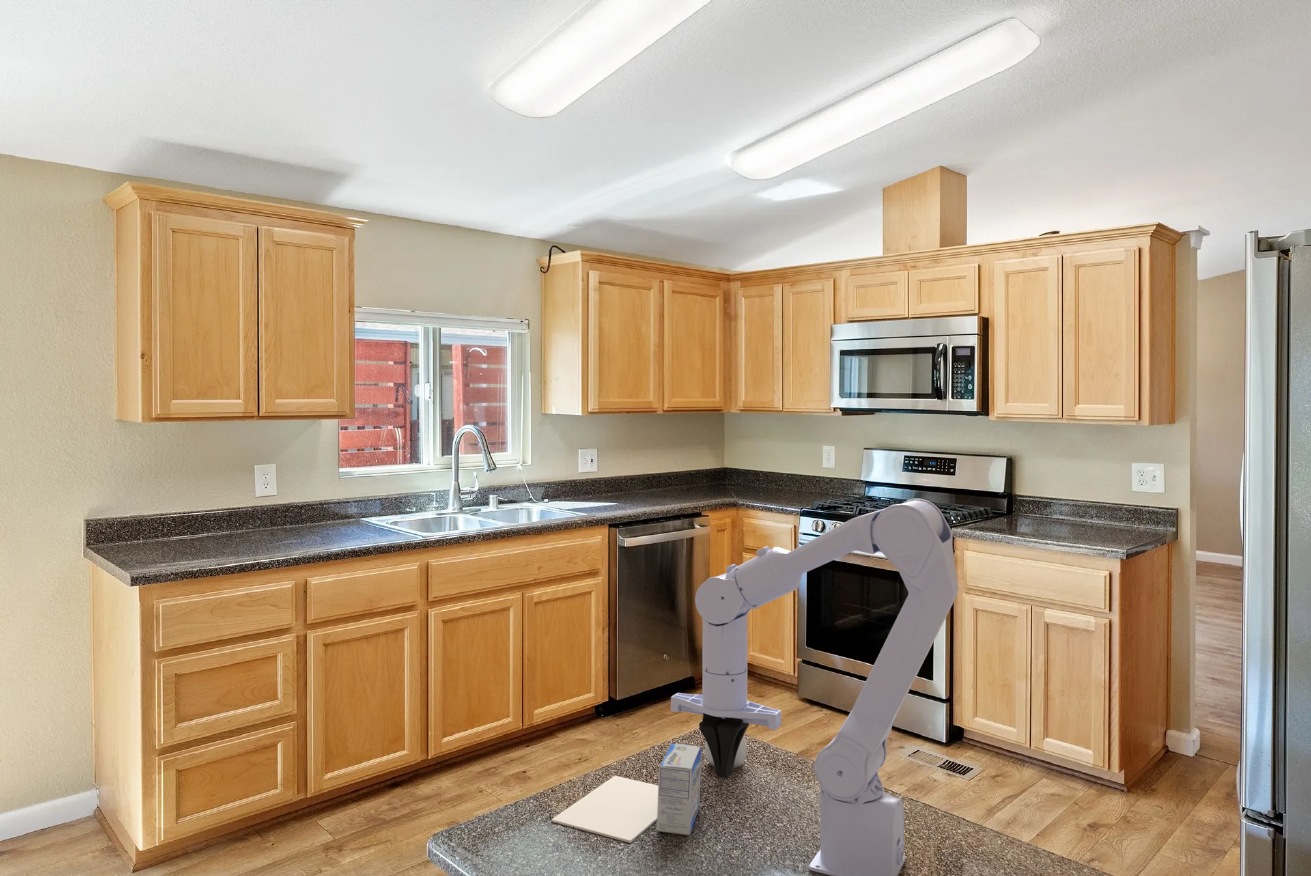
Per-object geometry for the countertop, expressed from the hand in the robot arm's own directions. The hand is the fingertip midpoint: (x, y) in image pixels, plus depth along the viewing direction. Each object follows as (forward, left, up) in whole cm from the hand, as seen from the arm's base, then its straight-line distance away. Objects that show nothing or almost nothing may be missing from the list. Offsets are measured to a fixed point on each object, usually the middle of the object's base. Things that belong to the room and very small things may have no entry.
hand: (724, 775), depth 108 cm
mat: (+15, 0, -7) cm, 17 cm away
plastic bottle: (+9, -20, -8) cm, 23 cm away
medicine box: (+7, 0, -8) cm, 10 cm away
